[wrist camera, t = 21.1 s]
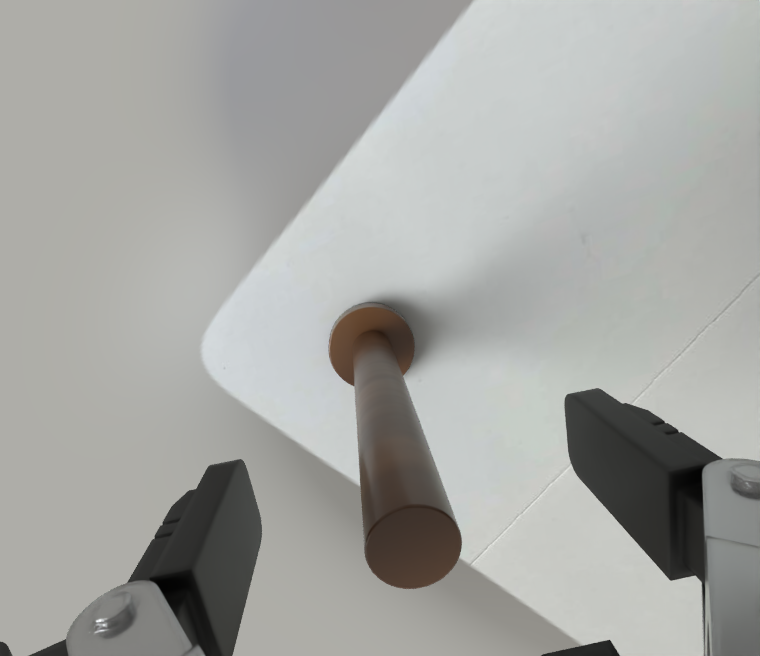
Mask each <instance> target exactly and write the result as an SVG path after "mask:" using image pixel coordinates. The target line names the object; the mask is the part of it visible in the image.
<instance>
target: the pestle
mask: <svg viewBox="0 0 760 656" xmlns="http://www.w3.org/2000/svg"><path fill="white" fill-rule="evenodd" d="M414 351H415V344H414V338H413V334H412V332H411V330H410V328H409V326H408V324H407V323H406V321H405V320H404V318H403V317H402V316H401V315H400V314H399V313H398V312H397V311H395V310H394V309H392V308H390V307H388V306H386V305H383V304H379V303H364V304H359V305H356V306H354V307H352V308H350V309H348V310H347V311H345V312H344V313H343V314H342V315H341V316H340V317H339V318H338V319H337V321H336V322H335V324H334V326H333V328H332V330H331V334H330V340H329V357H330V361H331V364H332V366H333V368H334V369H335V371H336V373H337V374H338V375H339V376H340V377H341V378H342V379H343V380H344V381H346V382H347V383H349V384H351V385H353V386H355V402H356V419H357V435H358V452H359V468H360V485H361V501H362V517H363V534H364V550H365V557H366V561H367V563H368V565H369V567H370V569H371V570H372V572H373V573H374V574H375V575H376V576H377V577H378V578H379V579H380V580H382V581H383V582H385V583H387V584H389V585H391V586H394V587H398V588H403V589H416V588H421V587H425V586H429V585H431V584H434V583H435V582H437V581H439V580H441V579H442V578H444V577H445V576H446V575H447V574H448V573H449V572H450V571H451V570H452V569H453V567H454V566H455V564H456V563H457V561H458V558H459V556H460V552H461V547H462V538H461V533H460V530H459V527H458V524H457V522H456V519H455V516H454V514H453V511H452V508H451V505H450V503H449V500H448V497H447V495H446V492H445V489H444V486H443V484H442V481H441V478H440V476H439V473H438V470H437V467H436V465H435V462H434V459H433V457H432V454H431V451H430V448H429V446H428V443H427V440H426V438H425V435H424V432H423V429H422V427H421V424H420V421H419V419H418V416H417V413H416V410H415V408H414V405H413V402H412V400H411V397H410V394H409V391H408V389H407V386H406V383H405V381H404V378H403V375H404V374H405V373H406V372H407V370H408V369H409V367H410V365H411V363H412V360H413V357H414Z"/></svg>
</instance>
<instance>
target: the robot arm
mask: <svg viewBox="0 0 760 656" xmlns="http://www.w3.org/2000/svg"><path fill="white" fill-rule="evenodd" d="M565 417H566V429H567V441H568V452H569V457H570V461H571V464H572V466H573V469H574V471H575V472H576V474H577V476H578V477H579V478H580V479H581V480H582V482H583V483H584V484H585V485H586V486H587V487H588V488H589V489H590V491H591V492H592V493H593V494H594V495H595V496H596V497H597V498H598V500H599V501H600V502H601V503H602V504H603V505H604V506H605V507H606V509H607V510H608V511H609V512H610V513H611V514H612V515H613V516H614V518H615V519H616V520H617V521H618V522H619V523H620V524H621V525H622V527H623V528H624V529H625V530H626V531H627V532H628V533H629V534H630V536H631V537H632V538H633V539H634V540H635V541H636V542H637V543H638V545H639V546H640V547H641V548H642V549H643V550H644V551H645V552H646V554H647V555H648V556H649V557H650V558H651V559H652V560H653V561H654V563H655V564H656V565H657V566H658V567H659V568H660V569H661V570H662V572H663V573H664V574H665V575H666V576H667V577H668V578H669V579H670V581H671V580H676V579H681V578H685V577H690V576H695V575H696V577H697V578H698V579H699V580H700V581H701V582H702V622H703V654H704V656H760V461H755V460H749V459H733V458H731V459H722V458H721V457H719V456H717V455H716V454H714V453H713V452H711V451H710V450H708V449H707V448H705V447H704V446H702V445H700V444H699V443H697V442H696V441H694V440H693V439H691V438H690V437H688V436H687V435H685V434H684V433H682V432H680V433H679V432H678V430H677V429H676V428H674V427H673V426H671V425H670V424H668V423H666V424H665V422H664V421H663V420H662V419H660V418H659V417H657V416H656V415H654V414H653V413H651V412H650V411H648V410H645V409H642V408H639V407H636V406H633V405H630V404H627V403H624V404H622V403H620V402H619V401H617V400H616V399H614V398H613V397H611V396H610V395H608V394H607V393H605V392H604V391H603V390H601V389H598V388H596V389H591V390H586V391H581V392H576V393H571V394H568V395H567V396H566V397H565ZM261 537H262V525H261V517H260V513H259V509H258V506H257V502H256V499H255V495H254V492H253V489H252V485H251V482H250V478H249V475H248V471H247V468H246V465H245V463H244V461H243V460H241V459H239V460H234V461H229V462H224V463H219V464H214V465H210V466H209V467H208V468H207V470H206V472H205V474H204V475H203V477H202V479H201V481H200V483H199V485H198V487H197V489H195V490H190V491H188V492H187V493H186V494H185V495H184V496H183V497H181V498H180V499H179V500H178V501H177V502H176V503H175V504H174V505H173V506H172V507H171V509H170V510H169V512H168V514H167V516H166V517H165V519H164V521H163V525H162V526H160V528H159V529H158V531H157V533H156V534H155V539H153V540H152V541H151V543H150V545H149V546H148V548H147V550H146V552H145V553H144V555H143V557H142V559H141V560H140V562H139V563H138V565H137V567H136V569H135V570H134V572H133V574H132V575H131V577H130V579H129V581H128V582H127V583H126V584H123V585H121V586H119V587H116V588H114V589H112V590H110V591H108V592H107V593H105V594H104V595H102V596H100V597H99V598H97V599H96V600H95V601H94V602H92V603H91V604H90V605H89V606H88V607H86V608H85V609H84V610H83V611H82V613H80V615H79V616H78V617H77V618H76V619H75V621H74V622H73V624H72V625H71V627H70V629H69V631H68V634H67V637H66V639H65V640H63V641H61V642H59V643H56V644H54V645H52V646H50V647H47V648H46V649H43V650H41V651H38V652H36V653H34V654H32V655H29V656H232V655H233V651H234V647H235V643H236V639H237V635H238V631H239V627H240V623H241V619H242V615H243V611H244V607H245V603H246V599H247V595H248V591H249V587H250V583H251V579H252V575H253V571H254V567H255V564H256V559H257V556H258V551H259V548H260V544H261ZM0 656H12V654H11V652H10V650H9V648H8V646H7V645H6V644H5V643H3V642H0ZM542 656H620V655H619V654H618V652H617V650H616V649H615V647H614V646H613V644H612V642H611V641H610V640H607V641H602V642H598V643H593V644H588V645H584V646H580V647H575V648H570V649H566V650H561V651H556V652H552V653H547V654H543V655H542Z"/></svg>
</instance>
